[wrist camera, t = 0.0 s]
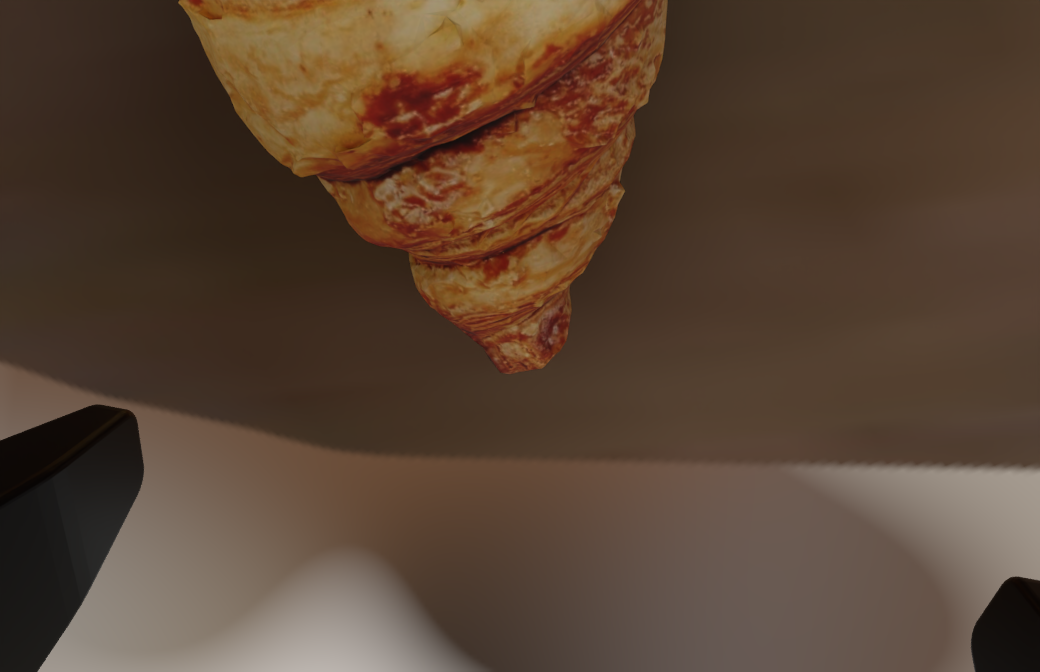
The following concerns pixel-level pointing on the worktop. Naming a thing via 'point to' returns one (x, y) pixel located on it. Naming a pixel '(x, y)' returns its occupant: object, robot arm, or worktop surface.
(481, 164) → the croissant
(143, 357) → the worktop surface
